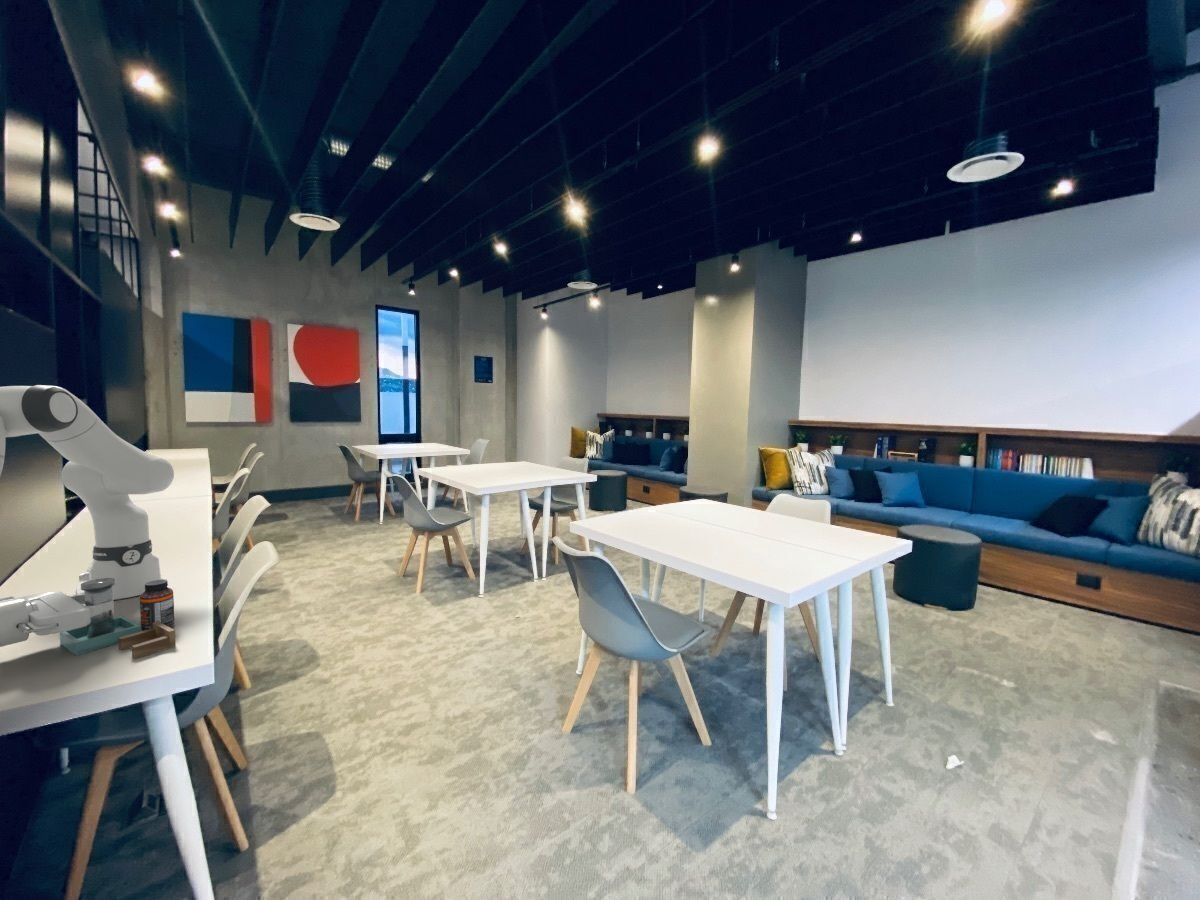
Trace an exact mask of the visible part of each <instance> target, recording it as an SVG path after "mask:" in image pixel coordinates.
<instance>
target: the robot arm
mask: <svg viewBox="0 0 1200 900" xmlns="http://www.w3.org/2000/svg"><path fill="white" fill-rule="evenodd" d="M34 434H35V435H36V434H38V435H39V436H40V437H42V439H44V440H45V441H46V442H47V443H48V444H49V445H50V446H51V447H53V449H54V450H56V451H57V452H58V453H59V454H60V455H61V456H62V457H63V458H65V459H66V460H67V462H66V463H65V465H64V466H63V468H62V470H61V473H60V477H61V481H62V484H63V485H64V486H65V488H66V489H67V490H70V491H71V492H73V493H75V494H76V495H77V496H78V497H79V498H80V500H81V501H82V502H83V503H84V504H85V506H86V508H87V510H88V511H89V514H90V516H91V519H92V524H93V525H92V526H93V533H94V546H93V548H92V559H93V561H92V562H91V563H90V564H89V566H88V567H87V569H86V572H83V573H79V574H78V578H79V579H78V581H79V583H84V582H87V581H90V580H95V579H101V578H114V579H115V585H113V586H112V587H113V602H112V601H106V602H101V603H100V604H97V605H94V606H87V607H86V606H85V605H84V604H85V593H84V591H83V590H81V585H78V586H76V587H75V588H76V589H75V591H76V594H71V595H67V594H66V593H64V592H62V591H50V592H43V593H41V592H40V593H36V594H29V595H23V596H18V597H15V596H12V595H11V596H5V597H1V598H0V648H1V647H6V646H9V645H15V644H18V643H22V642H26V641H28V639H29V637H30V634H32V633H33V634H35V635H36V636H48V635H54V634H58V633H59V634H60V632H64V631H69V630H73V629H77V628H81V627H84V626H87V625H89V624H90V623H91V617H93V616H96V615H98V614H100V613H102V612H105V611H109V610H112V609H113V608H114V609H115V603H114V601H115V600H121V599H128V598H132V597H136V596H140V595H141V594H142V593H143V592H145V583H147V582H150V581H154V580H167V581H168V579H166V578H162V575H161V568H160V566H161V565H160V559H159V557H158V556H156V555H154V554H153V553H152V552H153V543H152V540H151V539H150V528H149V515H148V513H147V511H145V510H144V509H143V508H141V507H139V506H137V505H136V504H135V503H134V502H133V501H132V499H131V497H130V496H129V495H148V494H154V493H159V492H163V491H165V490H167V489H168V488H169V487H171V484H172V483H173V481H174V476H175V472H174V467H173V465H172V464H171V463H170V461H168V460H167V459H165V458H162V457H158V456H155V455H153V454H150V453H148V452H146V451H143V450H142V449H140V448H138V447H137V446H135V445H133V444H131V443H129V442H128V441H126V440H125V439H123V438H122V437H120V436H119V435H117V434H116V433H115V432H114V431H113V430H111V428H109V426H108V425H107V424H106V423H104V421H103V420H101V418H100V417H99V416H98V415H97V414H96V413H95V412H94V411H93V410H92V409H91V408H90V407H89V406H88V405H87V404H86V403H84V402H83V401H82V400H81V399H80V398H78V397H77V396H75V394H73V393H71V392H70V391H69V390H67V389H66V388H63V387H61V386H56V385H45V384H44V385H42V384H36V385H7V386H0V477H1V475H2V472H3V469H4V468H3V467H4V465H5V457H6V444H7V443H6V441H7V440H6V438H15V437H21V436H27V435H34Z"/></svg>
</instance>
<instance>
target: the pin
mask: <svg viewBox="0 0 1200 900" xmlns="http://www.w3.org/2000/svg"><path fill="white" fill-rule="evenodd" d="M113 585H115V579H114V578H101V579H95V580H90V581H85V582H81V584H80V586H81V590H83V591H84V593H85V603H84V604H85V605H84V606H86V607H87V606H94V605H97V604H100V603H101V602H106V601H112V602H113V603H114V600H113V587H112V586H113ZM114 609H115V607H114V608H113V609H112V610H109V611H105V612H102V613H100V614H98V615H96V616H93V617H91V623H90V624H89V625H87V639H89V638H93V637H96V636H100V635H104V634H108V633H111V632H115V622H114V618H115V610H114Z"/></svg>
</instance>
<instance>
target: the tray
mask: <svg viewBox="0 0 1200 900" xmlns="http://www.w3.org/2000/svg"><path fill="white" fill-rule="evenodd" d="M114 622H115V632H111V633H108V634H104V635H100V636H96V637H93V638H89V639H87V626H84V627H81V628H77V629H73V630H69V631H64V632H59V643H60V645H62V646H63V647H65V649H67V650H68V651H69V652H70V653H72V654H74V655H75V656H80V655H82V654H85V653H89V652H93V651H96V650H100V649H104V648H107V647H111V646H114V645H117V644H118V645H119V640H118V638H119V637H122V636H126V635H130V634H133V633H137V632H140V631H142V630H141V624H139V623H137V622H136V621H134V620H132V619H130V618H129V617H127V616H125V615H122V616H121V615H120V616H118V617H114Z"/></svg>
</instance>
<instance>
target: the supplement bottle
mask: <svg viewBox="0 0 1200 900" xmlns="http://www.w3.org/2000/svg"><path fill="white" fill-rule="evenodd" d="M168 583H169V582H168V579H167V580H154V581H150V582H147V583H145V592H143V593H142V594H141V595H139V608H140V609H139V611H140V625H141V630H142V631H144V630H147V629H151V628H153V623H154V622H157V621H158V622H160V623H162V624H164V625H166V626H168V627H170V628H172V627H173V626H174V625H175V604H174V603H175V601H174V590H173V589H172V588H171V587H168V586H169V584H168Z"/></svg>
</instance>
